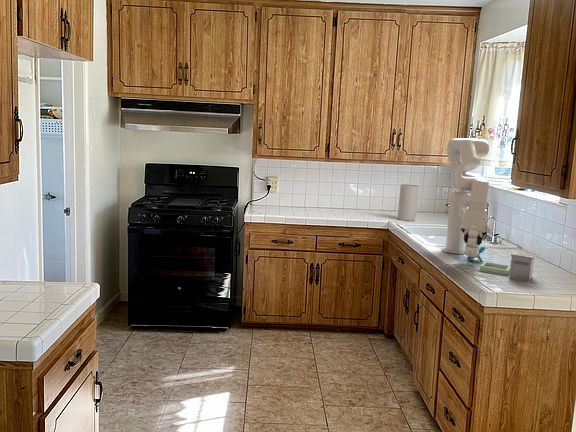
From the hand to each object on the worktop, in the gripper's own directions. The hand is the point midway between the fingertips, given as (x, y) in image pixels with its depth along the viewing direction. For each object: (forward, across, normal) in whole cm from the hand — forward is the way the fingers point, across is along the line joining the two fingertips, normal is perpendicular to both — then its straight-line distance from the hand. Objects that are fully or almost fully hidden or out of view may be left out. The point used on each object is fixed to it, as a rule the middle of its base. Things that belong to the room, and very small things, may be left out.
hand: (472, 243), depth 263 cm
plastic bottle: (+7, 0, 0) cm, 7 cm away
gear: (+11, 0, +9) cm, 14 cm away
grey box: (+9, +24, -12) cm, 29 cm away
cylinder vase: (+17, -70, +117) cm, 138 cm away
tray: (+9, +13, -6) cm, 17 cm away
